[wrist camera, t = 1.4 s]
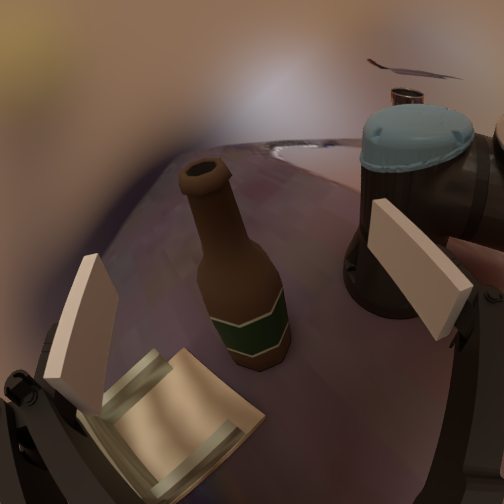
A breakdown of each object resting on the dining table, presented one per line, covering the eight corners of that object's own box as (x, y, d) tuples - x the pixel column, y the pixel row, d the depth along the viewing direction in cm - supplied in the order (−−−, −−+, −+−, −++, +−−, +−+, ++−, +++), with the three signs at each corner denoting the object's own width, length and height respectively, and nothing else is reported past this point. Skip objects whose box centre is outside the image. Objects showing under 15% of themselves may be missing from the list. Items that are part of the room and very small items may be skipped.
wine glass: (383, 146, 66) (383, 89, 56) (404, 139, 67) (405, 86, 57) (406, 158, 60) (409, 98, 50) (426, 151, 62) (430, 95, 51)
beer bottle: (216, 347, 36) (129, 182, 20) (260, 308, 40) (212, 135, 23) (259, 386, 32) (184, 217, 15) (305, 340, 35) (283, 153, 18)
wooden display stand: (186, 351, 37) (160, 316, 31) (266, 417, 29) (253, 395, 23) (106, 425, 30) (65, 403, 24) (172, 506, 22) (133, 505, 16)
